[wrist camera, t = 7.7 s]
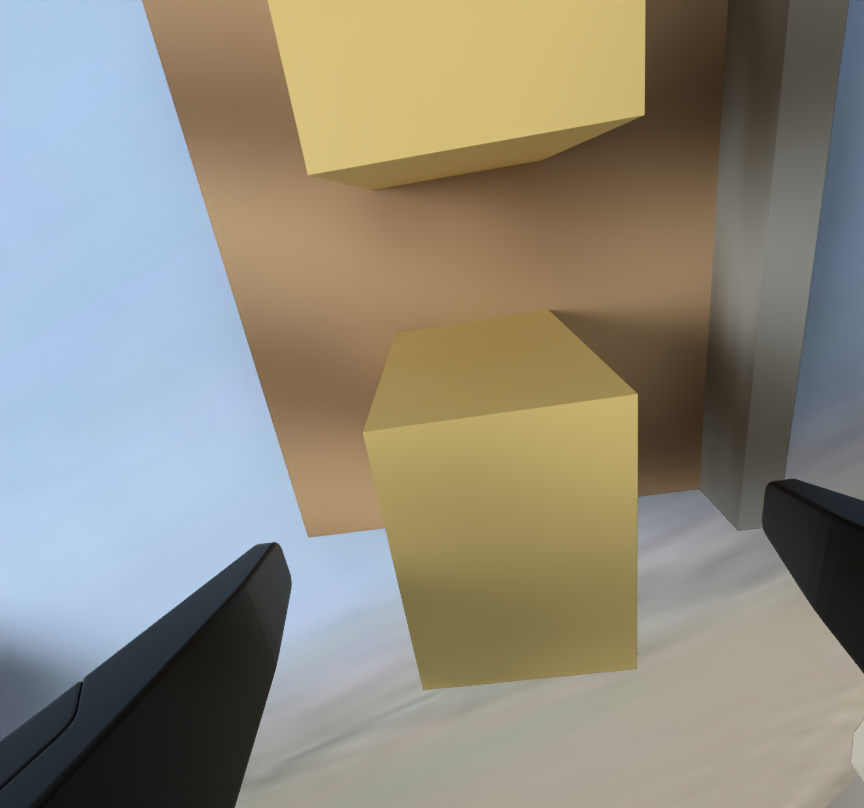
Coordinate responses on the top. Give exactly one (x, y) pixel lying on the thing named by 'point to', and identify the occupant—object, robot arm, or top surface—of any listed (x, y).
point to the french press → (858, 750)
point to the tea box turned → (508, 500)
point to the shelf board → (535, 243)
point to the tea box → (455, 82)
